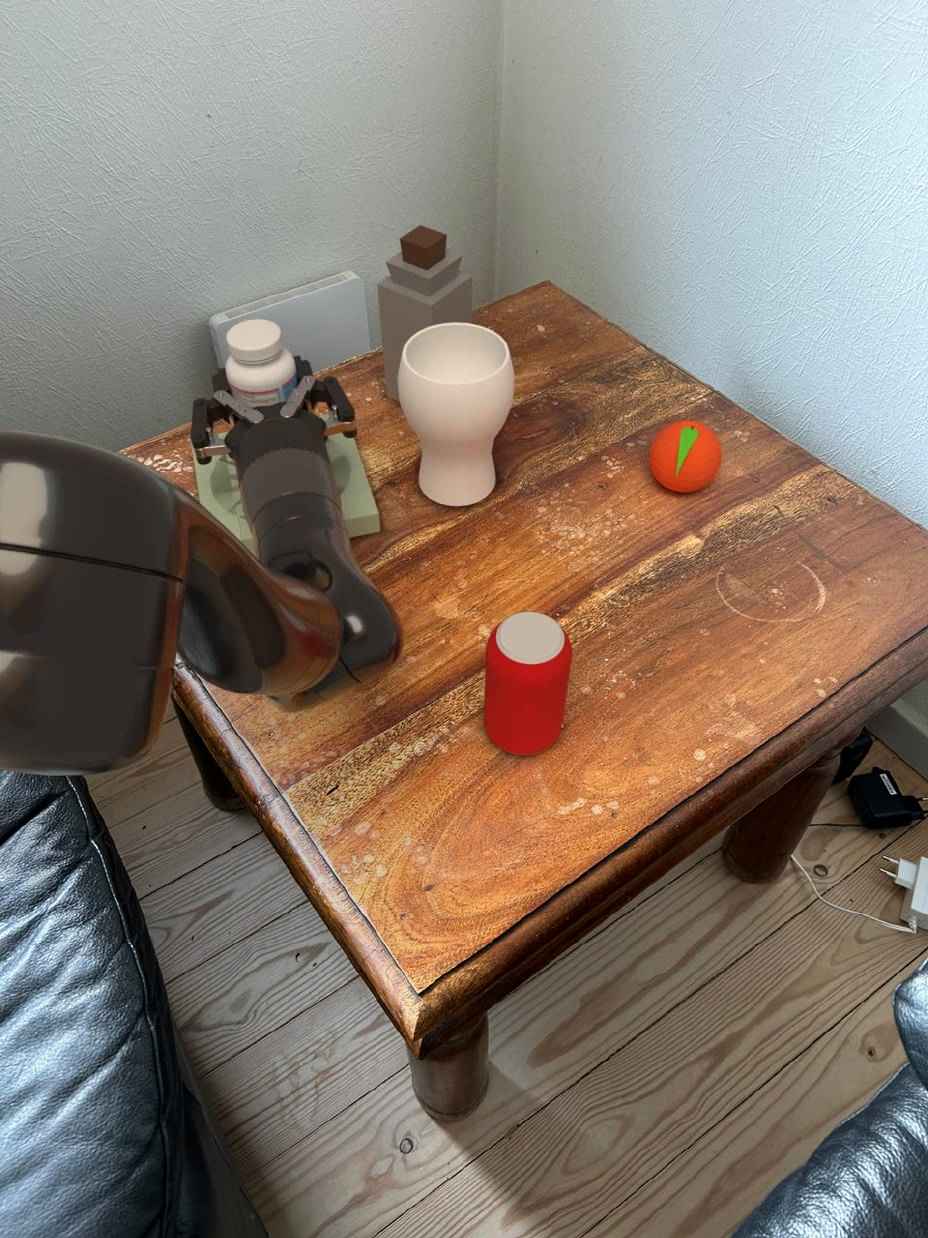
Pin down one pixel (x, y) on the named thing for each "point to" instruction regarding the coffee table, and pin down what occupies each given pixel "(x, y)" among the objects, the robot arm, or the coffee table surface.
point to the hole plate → (352, 482)
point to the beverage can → (526, 682)
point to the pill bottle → (259, 364)
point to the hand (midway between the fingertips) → (260, 370)
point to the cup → (456, 407)
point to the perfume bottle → (420, 295)
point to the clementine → (685, 456)
